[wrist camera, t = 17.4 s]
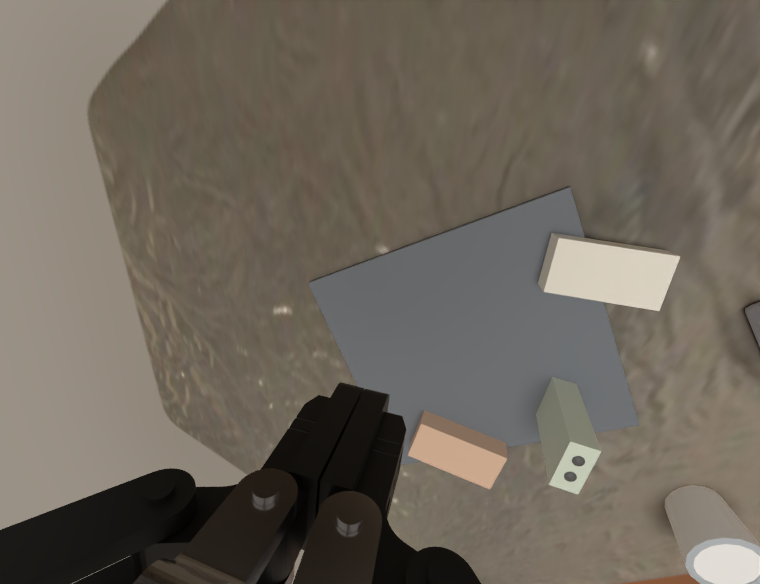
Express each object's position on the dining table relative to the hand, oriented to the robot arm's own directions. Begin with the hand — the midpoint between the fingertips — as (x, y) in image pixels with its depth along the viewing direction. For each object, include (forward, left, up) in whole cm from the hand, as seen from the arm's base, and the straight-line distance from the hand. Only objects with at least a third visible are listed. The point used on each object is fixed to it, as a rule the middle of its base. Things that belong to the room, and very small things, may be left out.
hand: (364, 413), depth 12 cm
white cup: (+39, +14, -31) cm, 52 cm away
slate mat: (+14, -3, -31) cm, 34 cm away
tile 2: (+22, +4, -30) cm, 38 cm away
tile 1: (+7, +7, -29) cm, 30 cm away
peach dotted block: (+22, -12, -29) cm, 38 cm away
